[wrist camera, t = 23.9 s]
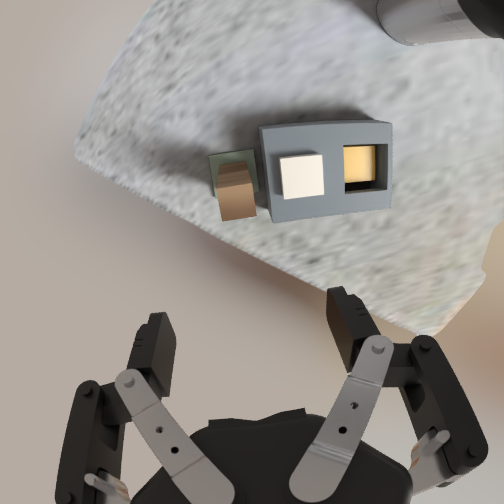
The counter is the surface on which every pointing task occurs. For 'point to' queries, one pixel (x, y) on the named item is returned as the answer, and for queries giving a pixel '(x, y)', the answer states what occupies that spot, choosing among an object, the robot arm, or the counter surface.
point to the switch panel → (326, 166)
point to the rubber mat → (233, 158)
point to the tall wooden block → (235, 191)
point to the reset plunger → (359, 162)
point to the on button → (301, 175)
